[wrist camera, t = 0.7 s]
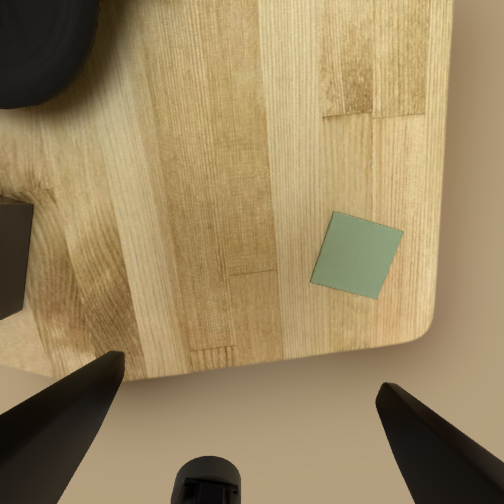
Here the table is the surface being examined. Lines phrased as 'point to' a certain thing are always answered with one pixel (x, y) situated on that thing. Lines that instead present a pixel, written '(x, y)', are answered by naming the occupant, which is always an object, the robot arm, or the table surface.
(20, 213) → the dark grey square frame
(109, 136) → the table surface
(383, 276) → the pad
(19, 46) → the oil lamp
